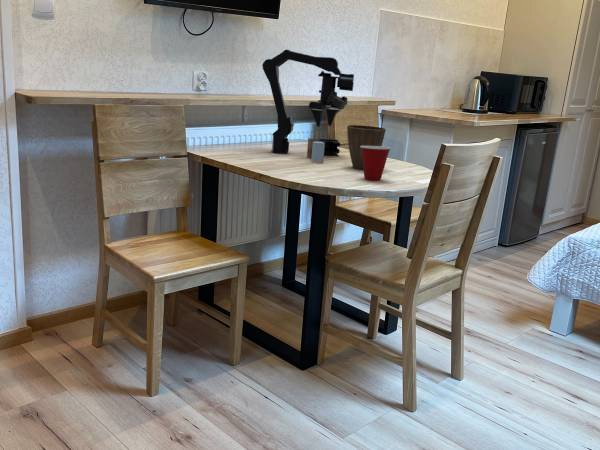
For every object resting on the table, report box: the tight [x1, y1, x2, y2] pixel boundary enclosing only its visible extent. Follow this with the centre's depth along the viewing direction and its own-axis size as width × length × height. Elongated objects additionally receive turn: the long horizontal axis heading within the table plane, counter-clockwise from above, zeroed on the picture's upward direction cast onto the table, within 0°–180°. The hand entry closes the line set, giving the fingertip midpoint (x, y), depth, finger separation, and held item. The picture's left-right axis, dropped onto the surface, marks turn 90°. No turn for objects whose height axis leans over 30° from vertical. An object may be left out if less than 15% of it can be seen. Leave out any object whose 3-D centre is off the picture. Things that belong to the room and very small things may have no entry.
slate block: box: [310, 141, 325, 164], centre depth 237 cm, size 4×4×8 cm
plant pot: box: [346, 124, 387, 171], centre depth 230 cm, size 15×15×16 cm
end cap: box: [318, 138, 341, 157], centre depth 259 cm, size 10×7×7 cm
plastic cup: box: [360, 145, 392, 182], centre depth 209 cm, size 11×11×12 cm
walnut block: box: [306, 137, 320, 160], centre depth 246 cm, size 4×4×8 cm
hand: (324, 126), depth 250 cm, fingers open, 9 cm apart
